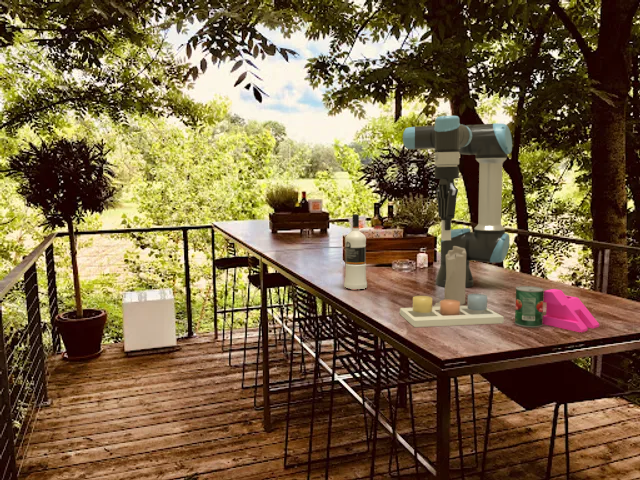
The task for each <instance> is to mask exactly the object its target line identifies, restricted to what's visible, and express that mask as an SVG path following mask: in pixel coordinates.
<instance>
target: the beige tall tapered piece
mask: <svg viewBox="0 0 640 480" xmlns="http://www.w3.org/2000/svg"><path fill="white" fill-rule="evenodd" d="M465 281H466V250H465V249H464V248H460V247H457V246H453V250H449V251H448V254H446V284H445V287H444V295H443V297H444V298H443V300H446V299H450V300H457V301H460V306H463V305H465V304H466V287H465ZM432 307H440V301H439V302H435V303H434V305H433V304H432Z"/></svg>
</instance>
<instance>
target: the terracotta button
mask: <svg viewBox="0 0 640 480" xmlns="http://www.w3.org/2000/svg"><path fill="white" fill-rule="evenodd" d="M439 302H440V314H441V315H444V316H450V315H460V306H461V305H460V301H457V300H450V299H446V300H444V299H441V300H440V301H439Z"/></svg>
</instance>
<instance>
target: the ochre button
mask: <svg viewBox="0 0 640 480" xmlns="http://www.w3.org/2000/svg"><path fill="white" fill-rule="evenodd" d="M432 307H433V297H432V296H429V295H415V296H413V297H412V308H413V311H415V312H420V313H428V312H432Z"/></svg>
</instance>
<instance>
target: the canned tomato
mask: <svg viewBox="0 0 640 480" xmlns="http://www.w3.org/2000/svg"><path fill="white" fill-rule="evenodd" d="M544 289H545V288H542V287H540V286H533V285H532V286H531V285H522V286H521V285H519V286H516V287H515V305H514V306H515V309H514V313H515V314H514V324H515V325H517V326H519V327H523V328H542V327H543V316H544V314H543V313H544V311H543V310H544V302H543V301H544V291H545V290H544Z"/></svg>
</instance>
